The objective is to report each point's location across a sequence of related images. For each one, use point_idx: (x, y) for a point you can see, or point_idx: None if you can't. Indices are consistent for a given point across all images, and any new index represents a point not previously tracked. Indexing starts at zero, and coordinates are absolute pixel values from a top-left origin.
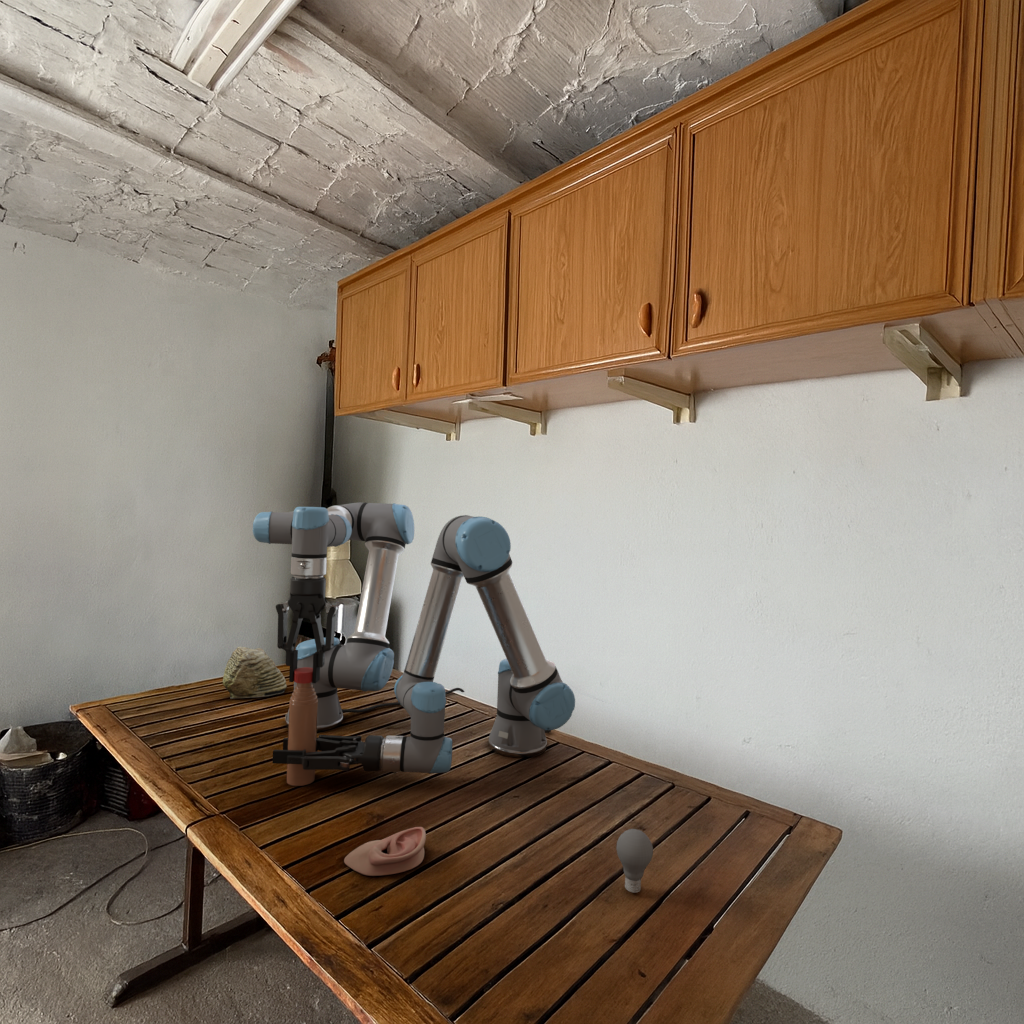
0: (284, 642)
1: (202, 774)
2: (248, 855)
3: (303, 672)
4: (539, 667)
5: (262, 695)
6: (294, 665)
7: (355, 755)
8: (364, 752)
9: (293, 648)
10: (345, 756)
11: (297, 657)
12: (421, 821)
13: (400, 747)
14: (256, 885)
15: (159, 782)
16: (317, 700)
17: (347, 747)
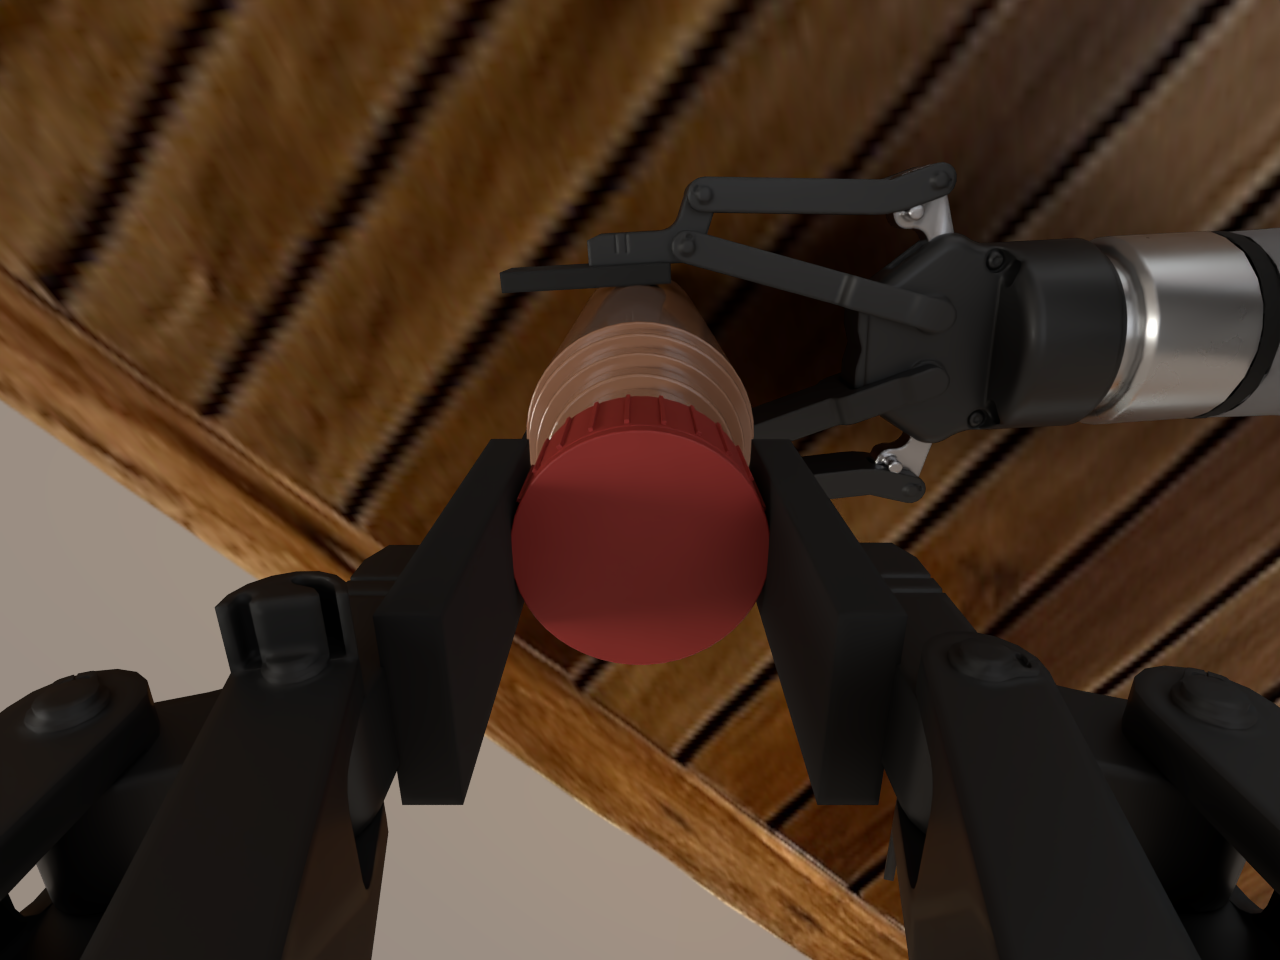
0: (107, 832)
1: (197, 328)
2: (661, 791)
3: (659, 650)
4: None
5: None
6: (504, 617)
7: (946, 437)
8: (997, 428)
9: (372, 717)
10: (900, 468)
11: (476, 559)
12: (1147, 594)
13: (1211, 406)
14: (730, 882)
15: (87, 421)
16: (750, 415)
17: (902, 388)
